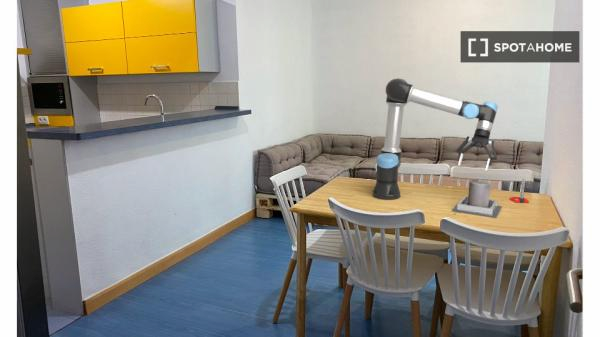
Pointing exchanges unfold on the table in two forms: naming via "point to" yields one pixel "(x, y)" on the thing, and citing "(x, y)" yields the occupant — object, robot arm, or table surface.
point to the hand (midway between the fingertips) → (472, 168)
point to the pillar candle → (479, 193)
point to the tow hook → (521, 198)
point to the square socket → (478, 208)
